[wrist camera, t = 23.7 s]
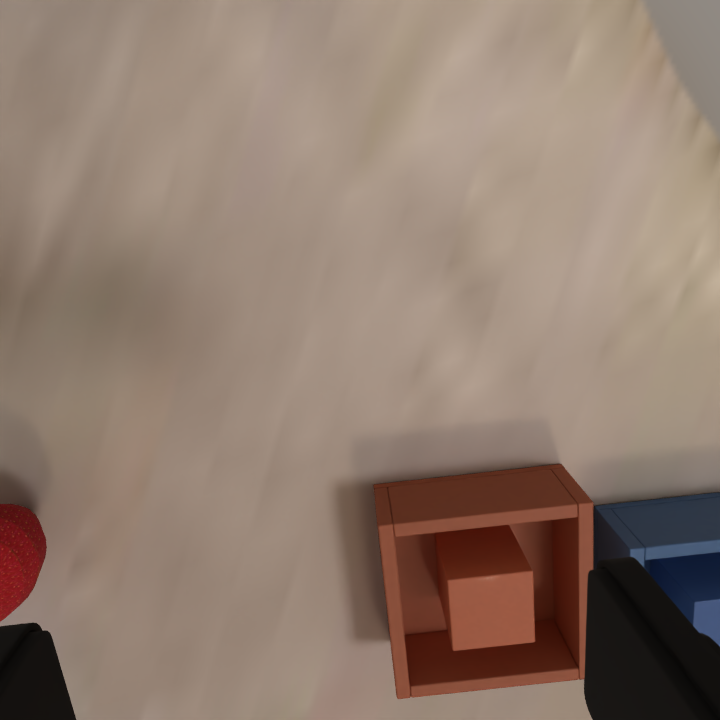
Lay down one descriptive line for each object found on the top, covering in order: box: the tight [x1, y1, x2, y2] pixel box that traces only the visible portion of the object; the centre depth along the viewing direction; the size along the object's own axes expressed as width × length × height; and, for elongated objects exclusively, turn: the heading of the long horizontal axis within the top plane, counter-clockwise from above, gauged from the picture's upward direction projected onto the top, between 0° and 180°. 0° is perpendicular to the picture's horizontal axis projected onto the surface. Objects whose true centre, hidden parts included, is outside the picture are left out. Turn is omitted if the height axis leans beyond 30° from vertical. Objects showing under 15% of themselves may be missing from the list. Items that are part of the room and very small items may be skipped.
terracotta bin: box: [373, 464, 593, 699], centre depth 32 cm, size 11×11×4 cm
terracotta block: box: [434, 525, 535, 651], centre depth 32 cm, size 4×4×4 cm
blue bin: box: [594, 492, 720, 574], centre depth 33 cm, size 11×11×4 cm
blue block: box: [650, 552, 720, 646], centre depth 33 cm, size 4×4×4 cm
